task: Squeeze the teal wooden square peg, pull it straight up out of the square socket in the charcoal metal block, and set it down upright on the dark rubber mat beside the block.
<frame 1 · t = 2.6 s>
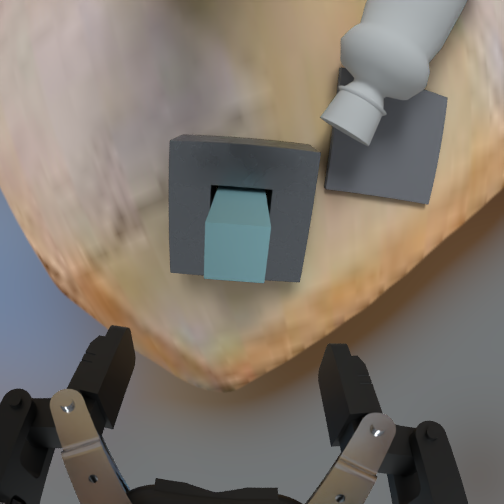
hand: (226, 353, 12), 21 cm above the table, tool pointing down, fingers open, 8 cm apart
peg: (239, 220, 25), in the socket block
socket block: (241, 198, 31), on the table
bottle: (393, 10, 21), on the table, touching mat
mat: (388, 138, 28), on the table
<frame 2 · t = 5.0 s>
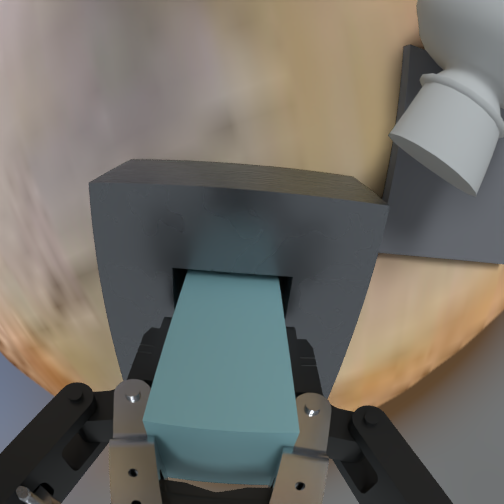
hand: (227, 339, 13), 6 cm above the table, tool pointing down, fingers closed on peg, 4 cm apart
peg: (228, 335, 13), in the socket block, touching gripper
socket block: (234, 266, 19), on the table
mat: (470, 168, 16), on the table
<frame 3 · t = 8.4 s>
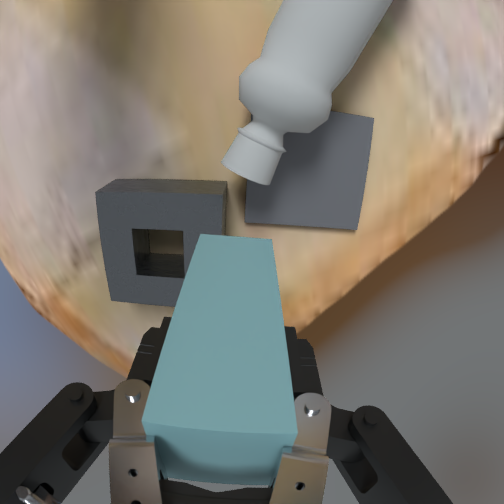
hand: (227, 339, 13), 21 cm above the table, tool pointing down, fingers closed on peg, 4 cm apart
peg: (227, 336, 13), point 21 cm above the table, touching gripper
socket block: (170, 233, 34), on the table
bottle: (310, 32, 24), on the table, touching mat
mat: (308, 167, 30), on the table
when the fingers open (9 cm above the table, at t = 12.0 s): peg drops 2 cm, resting on mat.
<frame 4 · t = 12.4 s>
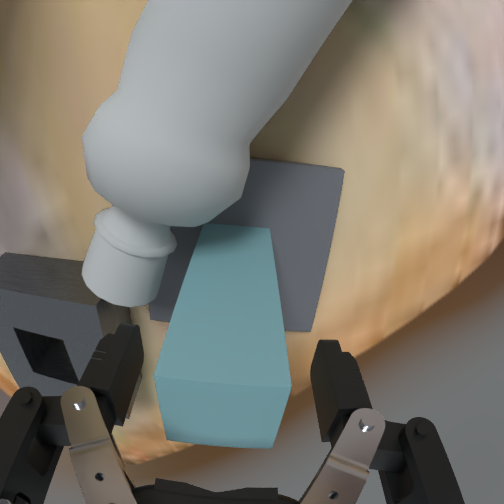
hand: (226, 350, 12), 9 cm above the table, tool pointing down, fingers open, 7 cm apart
peg: (229, 312, 15), on the mat, point 7 cm above the table
socket block: (70, 319, 24), on the table
bottle: (238, 27, 14), on the table, touching mat
mat: (235, 248, 21), on the table
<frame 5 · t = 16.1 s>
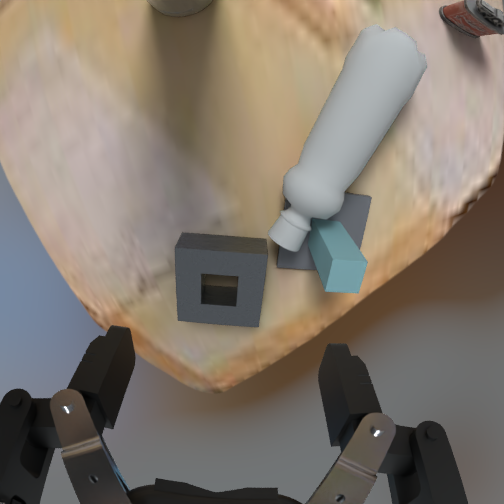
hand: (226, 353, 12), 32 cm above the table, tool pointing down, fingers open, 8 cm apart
peg: (333, 252, 38), on the mat, point 7 cm above the table
socket block: (221, 272, 47), on the table
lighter: (458, 22, 29), on the table
bottle: (332, 133, 38), on the table, touching mat
mat: (323, 230, 45), on the table
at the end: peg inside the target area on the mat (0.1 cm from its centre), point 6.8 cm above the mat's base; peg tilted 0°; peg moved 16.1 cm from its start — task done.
